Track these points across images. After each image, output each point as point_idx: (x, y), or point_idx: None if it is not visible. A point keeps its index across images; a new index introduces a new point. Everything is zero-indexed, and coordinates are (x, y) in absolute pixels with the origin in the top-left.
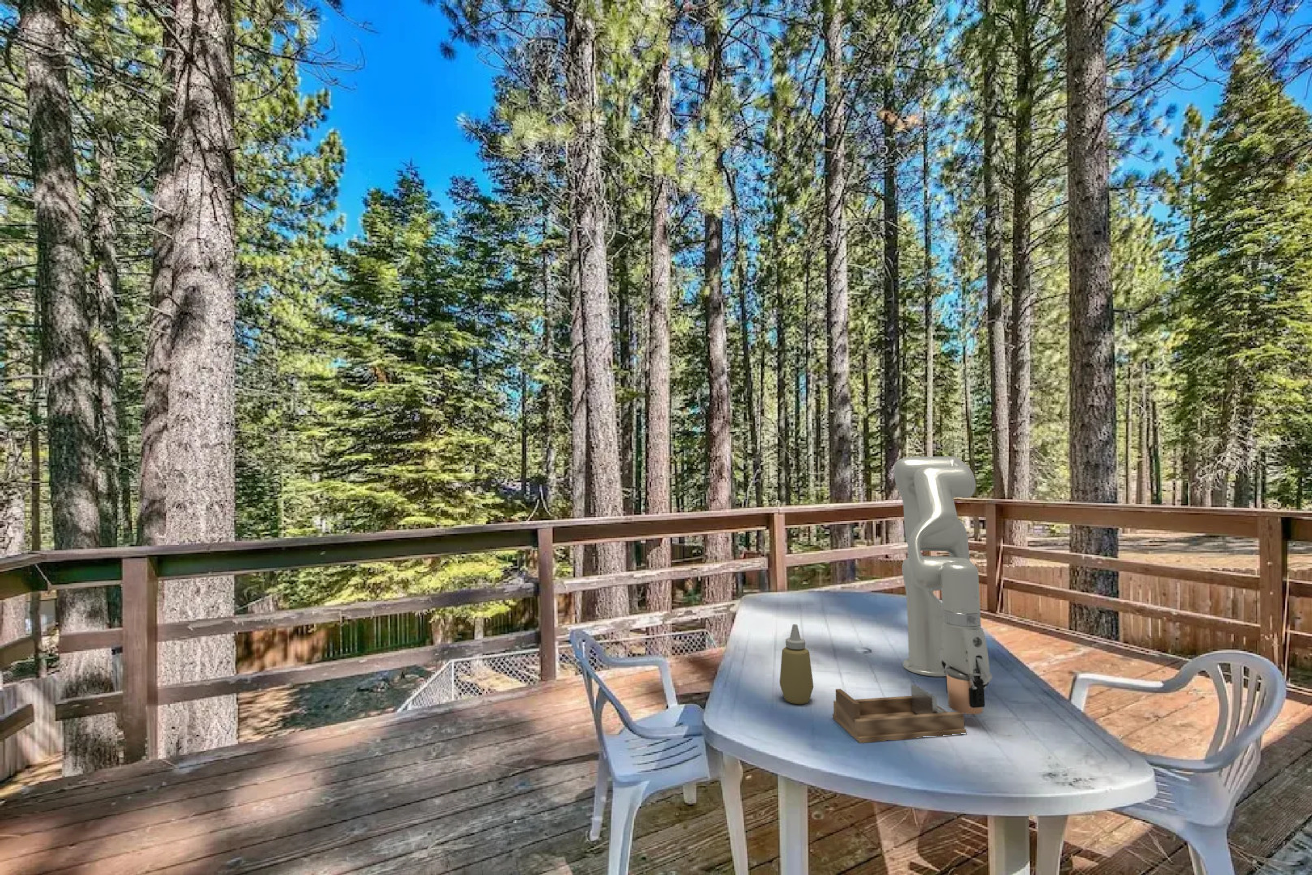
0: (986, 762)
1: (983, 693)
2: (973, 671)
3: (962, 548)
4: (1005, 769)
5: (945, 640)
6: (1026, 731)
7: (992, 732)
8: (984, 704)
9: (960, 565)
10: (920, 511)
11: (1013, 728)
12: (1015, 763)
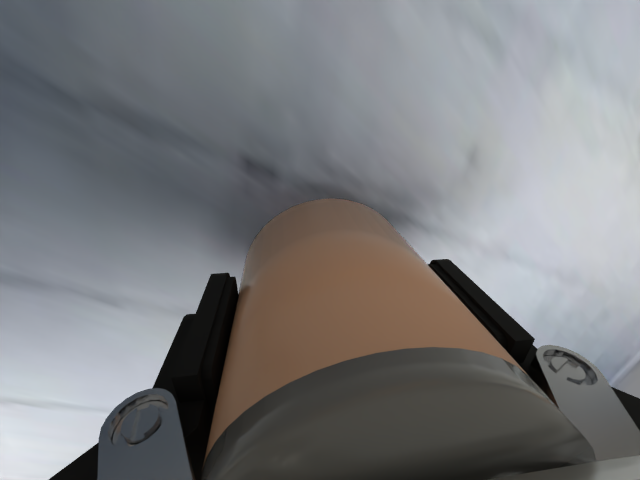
0: (545, 335)
1: (498, 311)
2: (461, 472)
3: None
4: (588, 315)
5: None
6: (482, 30)
7: (430, 208)
8: (453, 264)
9: None
10: None
11: (434, 76)
12: (590, 276)
